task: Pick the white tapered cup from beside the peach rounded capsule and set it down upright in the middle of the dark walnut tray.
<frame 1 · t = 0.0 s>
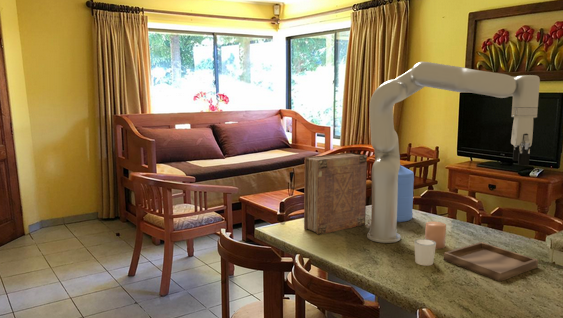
hand: (520, 163, 149), 31 cm above the table, tool pointing down, fingers open, 9 cm apart
book: (335, 227, 183), on the table
white tapered cup: (424, 262, 144), on the table
water jug: (394, 217, 196), on the table
peach rounded capsule: (434, 245, 160), on the table
walnut tray: (489, 263, 143), on the table
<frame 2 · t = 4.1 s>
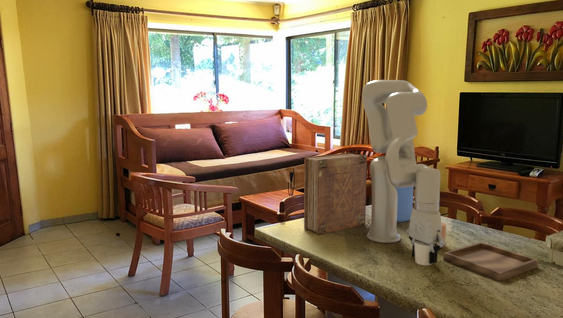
hand: (424, 258, 144), 1 cm above the table, tool pointing down, fingers closed on white tapered cup, 6 cm apart
white tapered cup: (424, 262, 144), on the table, touching gripper
everything else where it was.
when the fingers open (3 cm above the table, at t = 10.5 s): white tapered cup drops 1 cm, resting on walnut tray.
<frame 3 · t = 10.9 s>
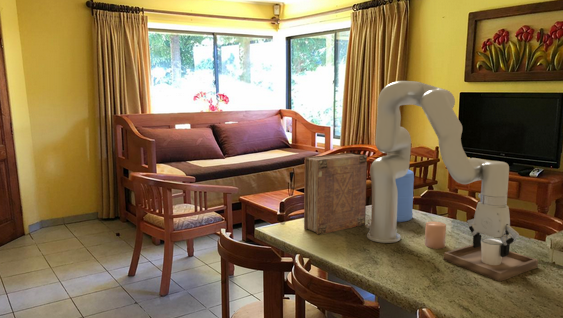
hand: (490, 251, 142), 4 cm above the table, tool pointing down, fingers open, 9 cm apart
white tapered cup: (491, 262, 142), point 1 cm above the table, touching walnut tray
everything else where it was.
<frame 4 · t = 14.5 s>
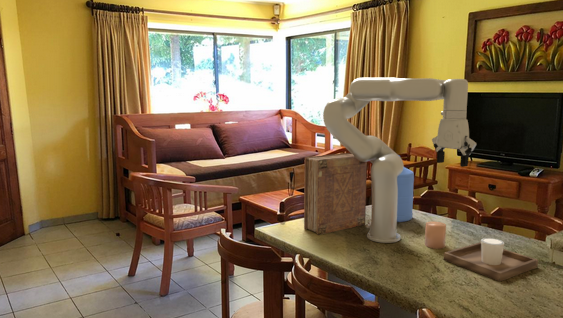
hand: (451, 164, 153), 30 cm above the table, tool pointing down, fingers open, 9 cm apart
nothing on the table moved.
at the end: white tapered cup inside the target area on the walnut tray (0.6 cm from its centre), point 0.6 cm above the walnut tray's base; white tapered cup tilted 0°; the gripper is holding nothing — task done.
